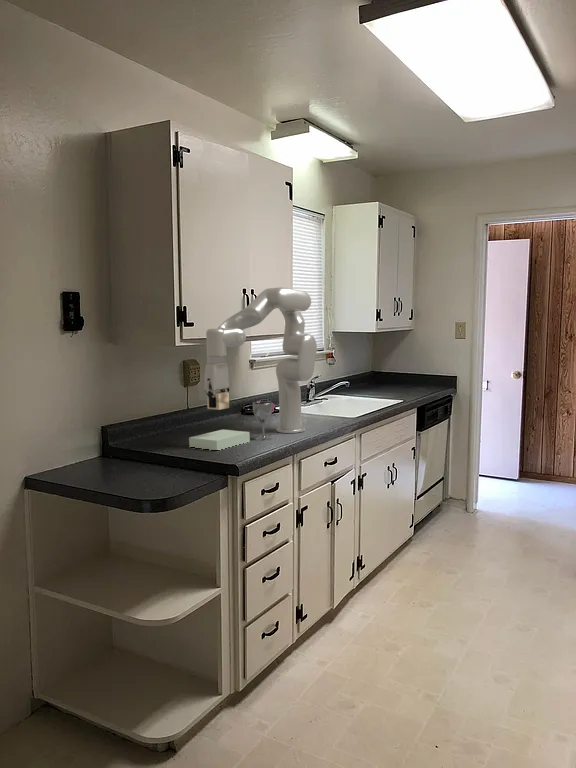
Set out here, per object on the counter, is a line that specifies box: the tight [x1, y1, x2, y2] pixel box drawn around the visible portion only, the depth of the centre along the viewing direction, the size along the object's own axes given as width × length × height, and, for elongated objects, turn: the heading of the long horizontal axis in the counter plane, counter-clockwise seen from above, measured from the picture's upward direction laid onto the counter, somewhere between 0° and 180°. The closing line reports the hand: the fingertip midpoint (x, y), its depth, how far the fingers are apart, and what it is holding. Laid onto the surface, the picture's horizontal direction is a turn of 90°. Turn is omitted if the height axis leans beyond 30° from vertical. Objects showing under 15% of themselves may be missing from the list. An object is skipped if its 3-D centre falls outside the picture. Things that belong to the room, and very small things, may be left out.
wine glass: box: [252, 400, 273, 441], centre depth 255 cm, size 8×8×15 cm
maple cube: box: [206, 391, 230, 411], centre depth 244 cm, size 6×6×6 cm
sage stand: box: [188, 429, 251, 451], centre depth 246 cm, size 20×14×4 cm
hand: (218, 406), depth 244 cm, fingers closed on maple cube, 6 cm apart
